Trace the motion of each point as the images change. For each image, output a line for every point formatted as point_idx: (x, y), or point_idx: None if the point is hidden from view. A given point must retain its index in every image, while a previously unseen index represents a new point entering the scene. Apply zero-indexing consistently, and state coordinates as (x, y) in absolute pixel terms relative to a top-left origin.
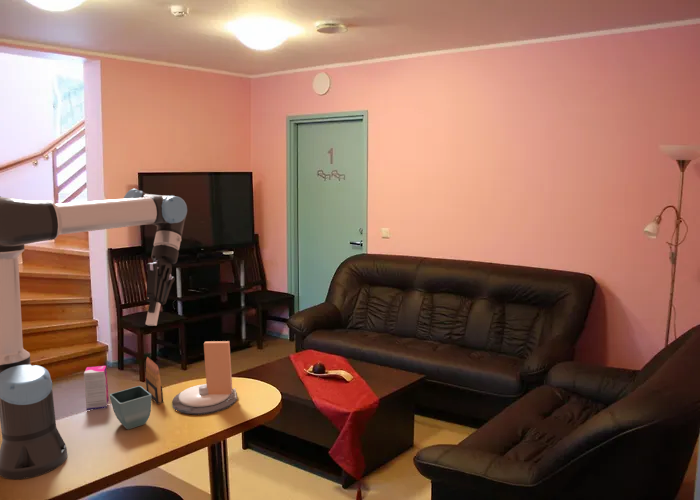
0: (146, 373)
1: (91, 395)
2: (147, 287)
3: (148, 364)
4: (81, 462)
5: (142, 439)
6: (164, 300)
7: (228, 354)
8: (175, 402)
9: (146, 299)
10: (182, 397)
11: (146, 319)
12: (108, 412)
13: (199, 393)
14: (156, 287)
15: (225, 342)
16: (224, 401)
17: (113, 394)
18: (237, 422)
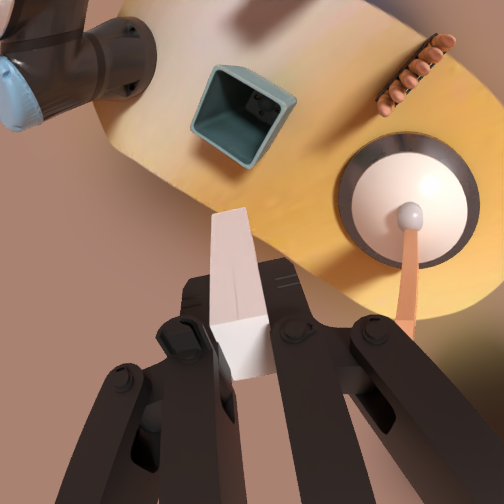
0: (434, 38)
1: None
2: (80, 451)
3: (429, 52)
4: (149, 115)
5: None
6: (357, 397)
7: None
8: (373, 150)
9: (158, 332)
10: (380, 169)
11: (212, 229)
12: (297, 9)
13: (401, 206)
14: (155, 490)
15: None
16: None
17: (223, 70)
18: (327, 281)
